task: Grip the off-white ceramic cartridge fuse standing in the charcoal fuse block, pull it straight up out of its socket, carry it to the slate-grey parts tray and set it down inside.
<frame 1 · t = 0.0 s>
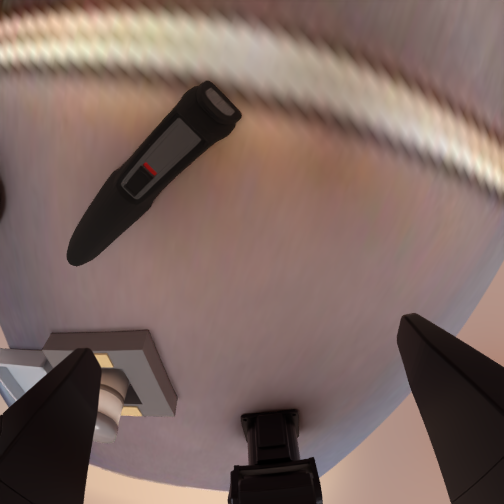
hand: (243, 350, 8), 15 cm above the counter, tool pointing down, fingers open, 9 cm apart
fuse: (104, 398, 26), in the fuse block
parts tray: (46, 387, 31), on the counter
fuse block: (114, 368, 29), on the counter
electric trimmer: (148, 175, 21), on the counter
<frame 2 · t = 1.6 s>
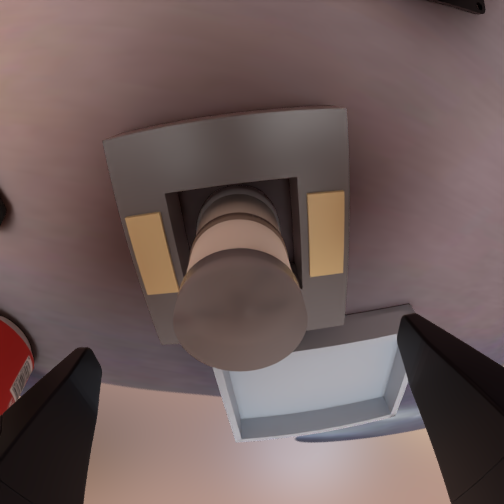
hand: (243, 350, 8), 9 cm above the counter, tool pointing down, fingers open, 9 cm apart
fuse: (238, 261, 13), in the fuse block
beverage can: (9, 336, 20), on the counter
parts tray: (315, 371, 22), on the counter
fuse block: (238, 222, 16), on the counter
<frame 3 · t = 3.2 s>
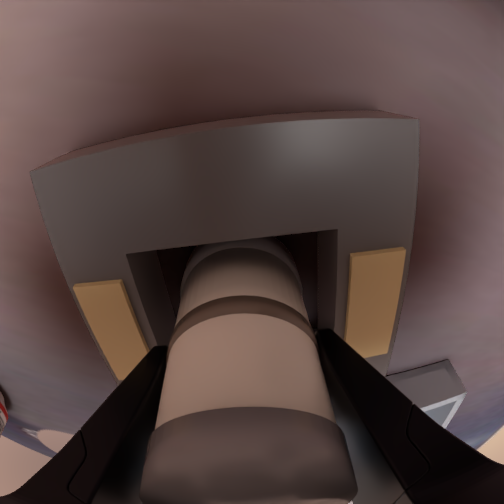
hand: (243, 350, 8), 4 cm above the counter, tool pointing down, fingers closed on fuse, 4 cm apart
fuse: (243, 363, 8), in the fuse block, touching gripper
parts tray: (332, 433, 17), on the counter
fuse block: (241, 279, 12), on the counter
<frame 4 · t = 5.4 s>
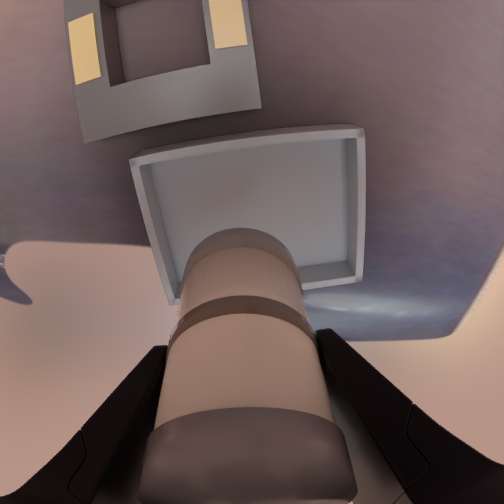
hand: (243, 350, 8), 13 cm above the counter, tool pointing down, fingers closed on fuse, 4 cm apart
fuse: (242, 363, 8), point 14 cm above the counter, touching gripper
parts tray: (255, 208, 21), on the counter
fuse block: (162, 34, 15), on the counter
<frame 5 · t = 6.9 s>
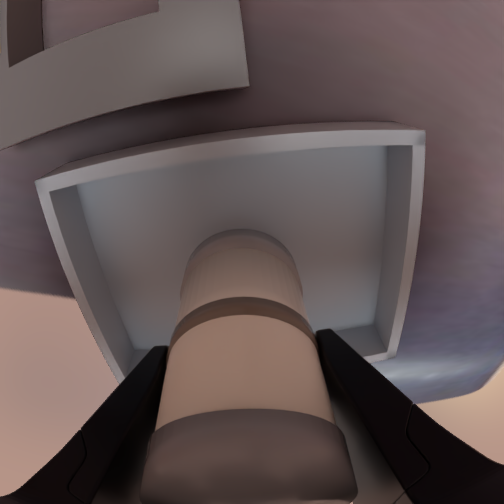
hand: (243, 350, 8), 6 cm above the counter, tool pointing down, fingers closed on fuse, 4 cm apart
fuse: (243, 364, 8), point 6 cm above the counter, touching gripper
parts tray: (240, 253, 13), on the counter
when the fingers open (5 cm above the counter, at t = 7.8 s): fuse stays where it is, resting on parts tray.
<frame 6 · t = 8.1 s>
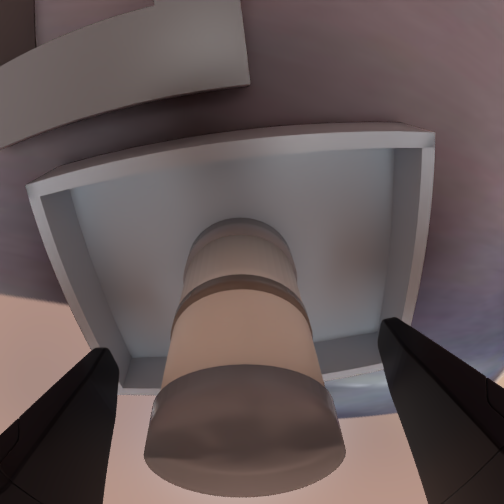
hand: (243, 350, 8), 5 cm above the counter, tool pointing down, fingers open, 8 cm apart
fuse: (241, 338, 9), in the parts tray
parts tray: (240, 260, 13), on the counter
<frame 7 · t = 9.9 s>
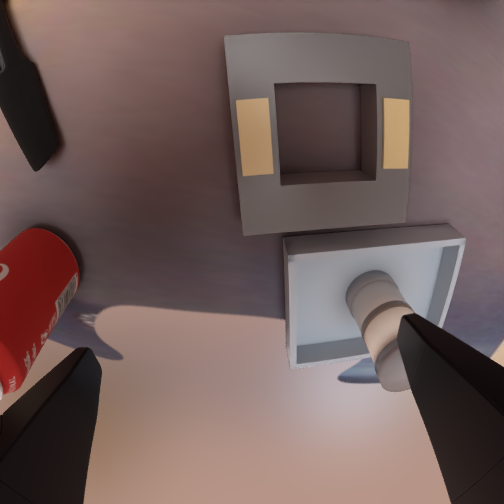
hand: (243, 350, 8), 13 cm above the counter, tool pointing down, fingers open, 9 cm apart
fuse: (389, 326, 20), in the parts tray
beverage can: (51, 258, 21), on the counter
parts tray: (368, 289, 24), on the counter
fuse block: (318, 127, 18), on the counter
electric trimmer: (19, 64, 15), on the counter
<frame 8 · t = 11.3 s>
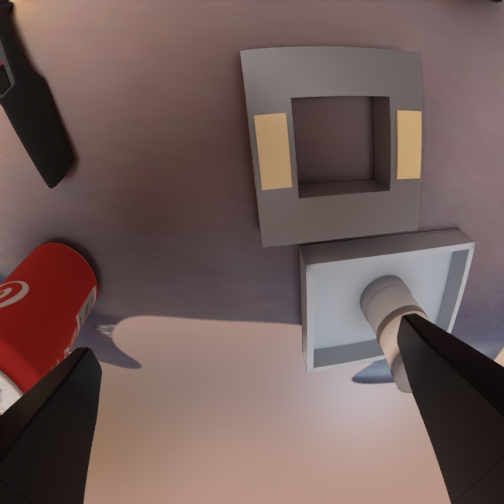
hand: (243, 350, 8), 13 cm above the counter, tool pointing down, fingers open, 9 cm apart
fuse: (403, 330, 20), in the parts tray
beverage can: (67, 271, 22), on the counter
parts tray: (381, 293, 24), on the counter
fuse block: (332, 139, 18), on the counter
electric trimmer: (28, 79, 15), on the counter
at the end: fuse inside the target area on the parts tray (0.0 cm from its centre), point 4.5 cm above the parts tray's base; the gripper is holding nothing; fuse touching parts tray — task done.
